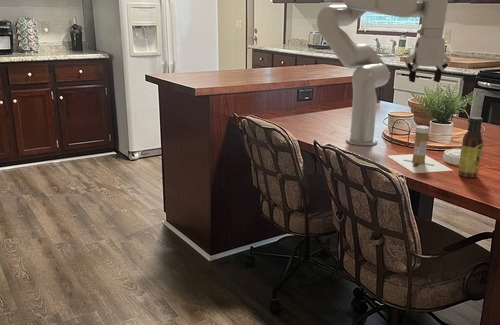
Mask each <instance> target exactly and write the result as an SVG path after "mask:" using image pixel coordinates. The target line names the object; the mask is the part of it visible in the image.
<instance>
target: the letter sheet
mask: <svg viewBox="0 0 500 325" xmlns="http://www.w3.org/2000/svg"><path fill="white" fill-rule="evenodd" d="M387 157H388V158H389V159H391V160H393V161H394V162H395V163H398V164H399V165H400V166H402V167H404V168H405V169H406V170H407V171H410V172H411V173H412V174H425V173H439V172H440V173H441V172H453V171H454V170H453V169H452V168H450V167H448V166H446V165H444V164H443V163H440V162H439V161H437V160H435V159H434V158H432V157H430V156H428V155H427V154H426V155H425V163H424V164H415V163H413V162H412V160H413V153H411V154H394V155H393V154H391V155H387Z"/></svg>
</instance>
